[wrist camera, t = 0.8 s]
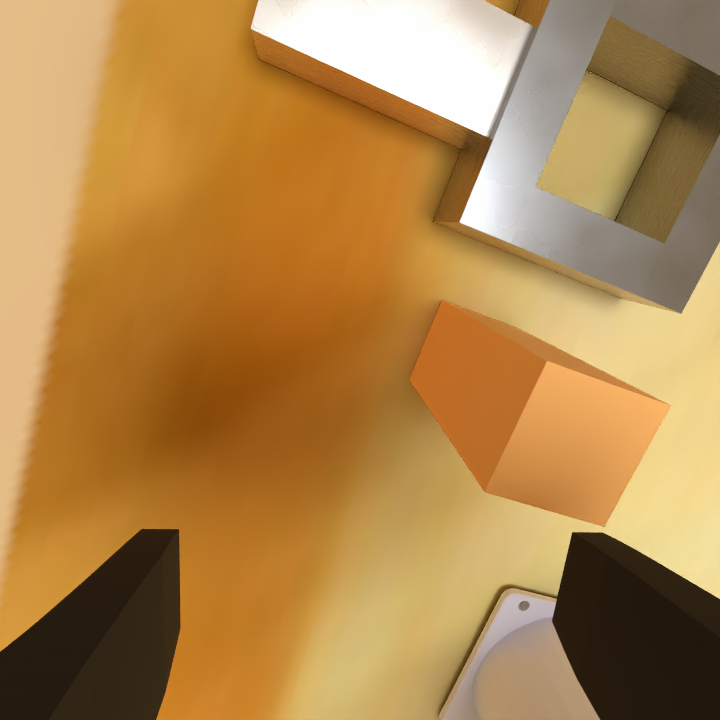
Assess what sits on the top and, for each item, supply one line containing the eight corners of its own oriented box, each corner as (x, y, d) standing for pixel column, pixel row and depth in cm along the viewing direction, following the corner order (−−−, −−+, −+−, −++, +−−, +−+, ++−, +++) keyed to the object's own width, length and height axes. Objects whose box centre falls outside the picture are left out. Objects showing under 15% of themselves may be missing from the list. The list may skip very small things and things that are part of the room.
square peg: (518, 328, 18) (670, 405, 11) (483, 403, 19) (604, 526, 11) (441, 299, 18) (546, 360, 10) (409, 379, 18) (484, 491, 11)
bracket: (732, 80, 17) (820, 51, 14) (622, 298, 19) (681, 313, 16) (318, -146, 14) (322, -241, 11) (234, 141, 16) (219, 123, 13)
